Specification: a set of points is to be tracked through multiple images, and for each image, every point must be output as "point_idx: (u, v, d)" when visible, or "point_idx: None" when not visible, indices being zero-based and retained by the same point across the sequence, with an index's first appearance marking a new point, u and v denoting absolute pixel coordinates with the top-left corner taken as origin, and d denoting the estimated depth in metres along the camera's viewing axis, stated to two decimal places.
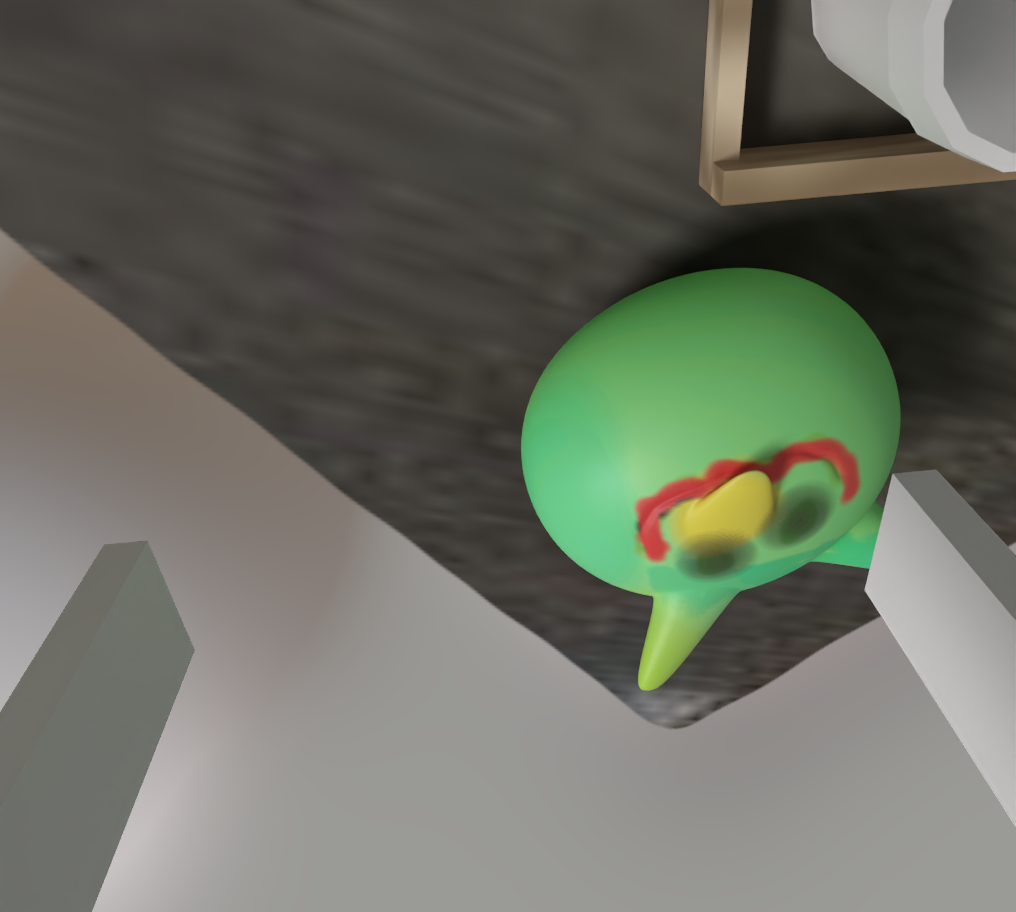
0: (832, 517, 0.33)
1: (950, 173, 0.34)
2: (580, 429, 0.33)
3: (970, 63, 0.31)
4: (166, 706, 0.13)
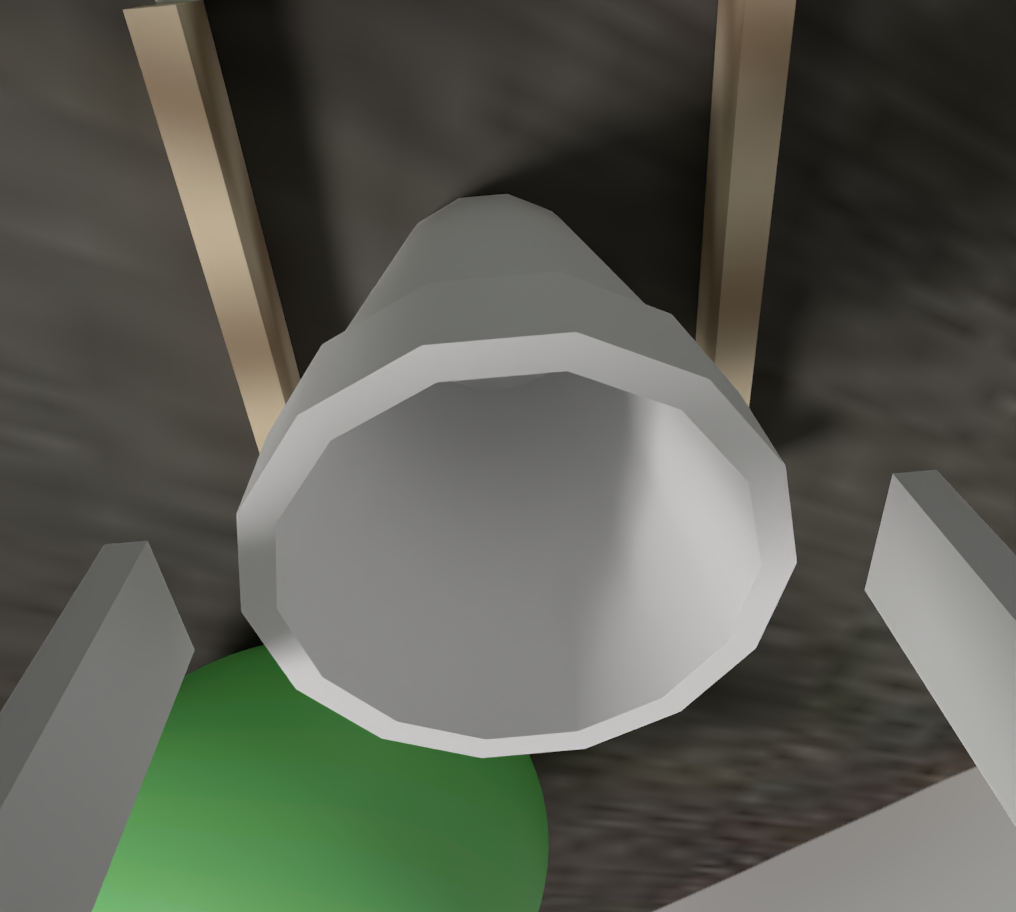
0: None
1: None
2: None
3: (580, 431, 0.22)
4: (166, 706, 0.13)
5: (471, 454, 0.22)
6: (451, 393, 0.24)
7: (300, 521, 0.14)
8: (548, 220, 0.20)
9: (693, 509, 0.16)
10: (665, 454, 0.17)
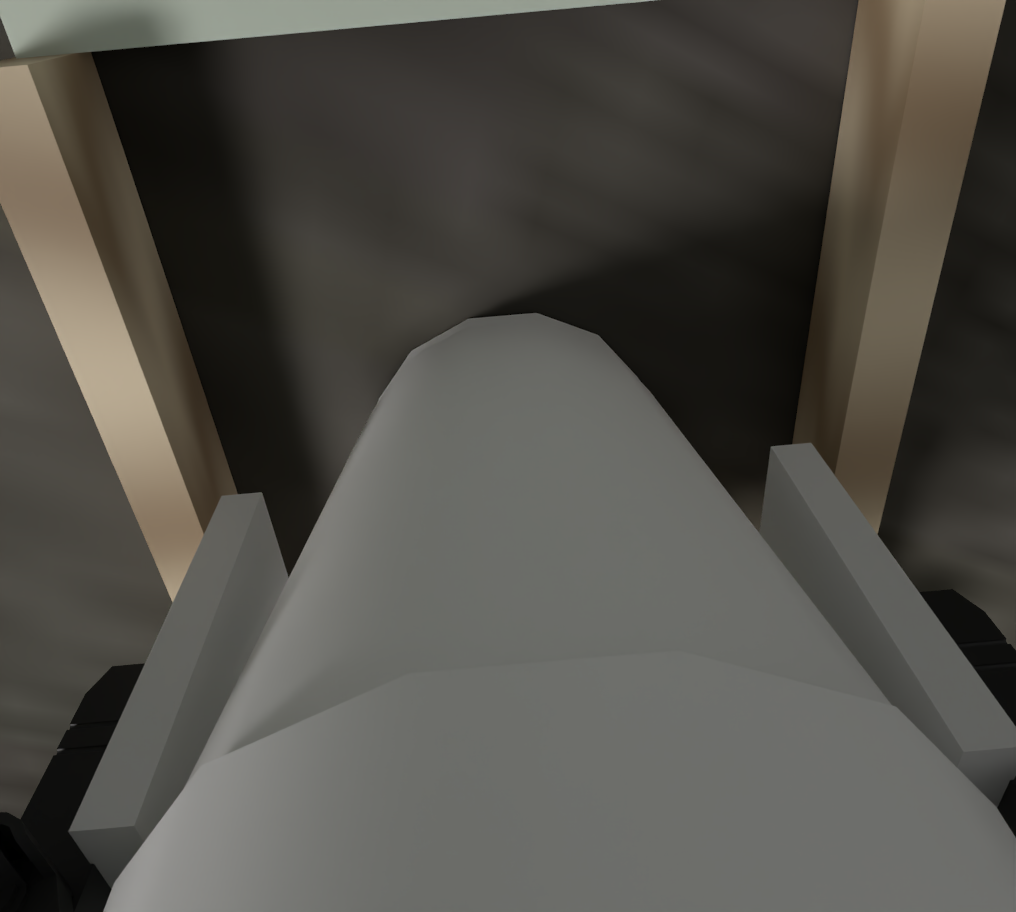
0: None
1: None
2: None
3: None
4: None
5: None
6: None
7: None
8: (600, 369, 0.14)
9: None
10: None
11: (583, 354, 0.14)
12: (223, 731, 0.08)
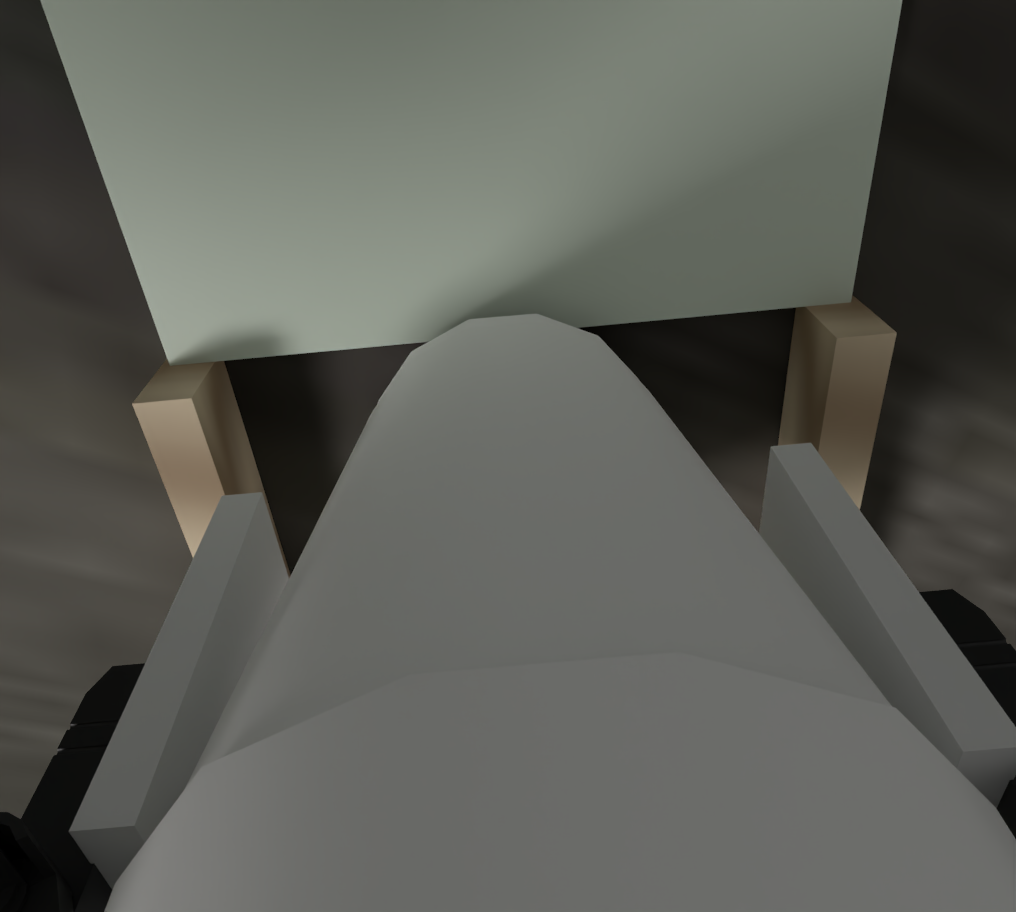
0: None
1: None
2: None
3: None
4: None
5: None
6: None
7: None
8: (600, 370, 0.14)
9: None
10: None
11: (583, 355, 0.14)
12: (223, 732, 0.08)
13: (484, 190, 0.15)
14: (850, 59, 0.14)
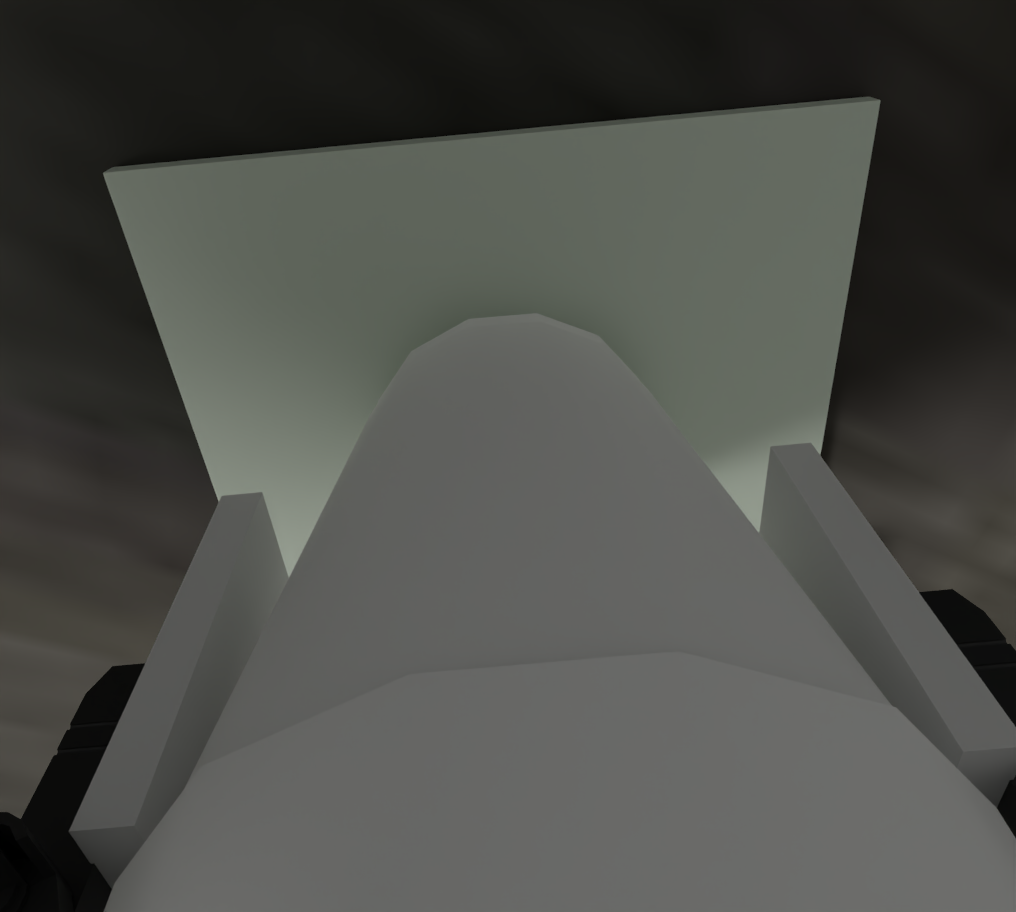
0: None
1: None
2: None
3: None
4: None
5: None
6: None
7: None
8: (600, 370, 0.14)
9: None
10: None
11: (583, 354, 0.14)
12: (223, 732, 0.08)
13: None
14: (793, 426, 0.19)
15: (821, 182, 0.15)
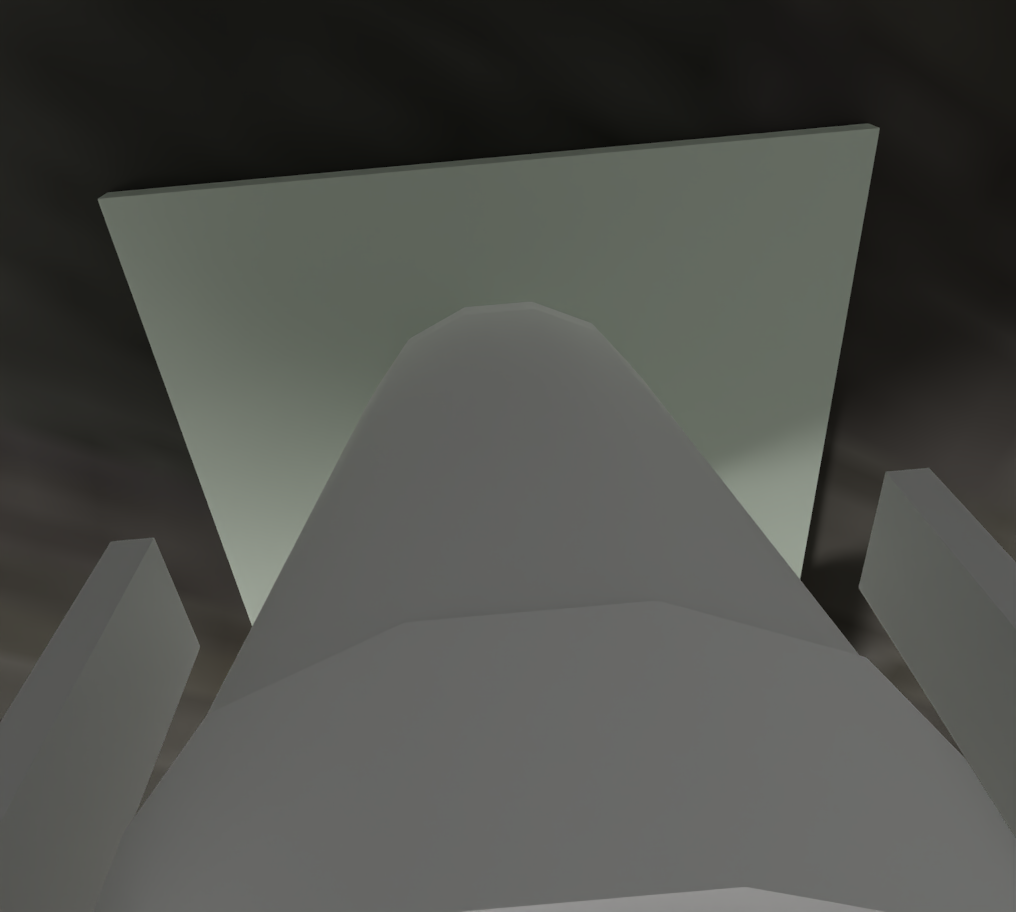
0: None
1: None
2: None
3: None
4: (172, 702, 0.13)
5: None
6: None
7: None
8: (592, 354, 0.14)
9: None
10: None
11: (576, 340, 0.14)
12: (227, 691, 0.08)
13: None
14: (791, 448, 0.18)
15: (820, 208, 0.15)
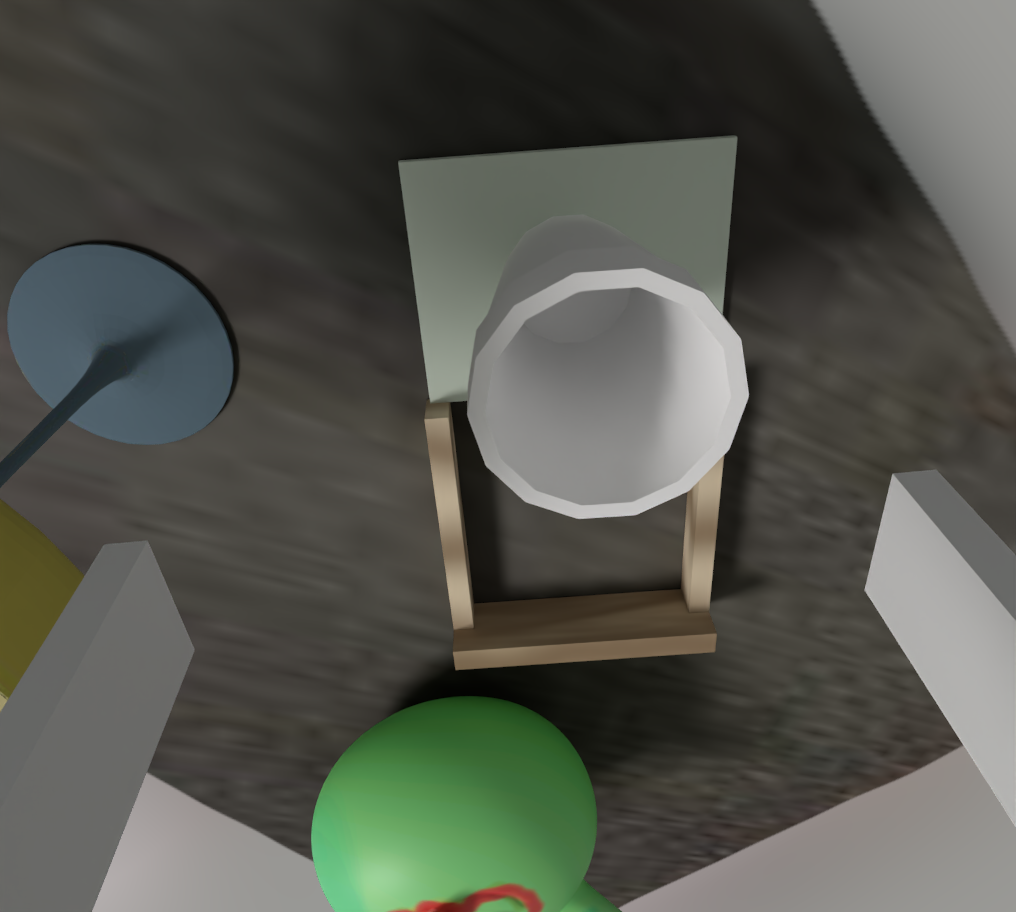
0: None
1: (627, 651, 0.45)
2: (335, 855, 0.43)
3: (627, 362, 0.34)
4: (166, 706, 0.13)
5: (557, 376, 0.35)
6: (541, 342, 0.37)
7: None
8: (611, 229, 0.33)
9: (697, 384, 0.28)
10: (682, 360, 0.30)
11: (604, 225, 0.33)
12: None
13: None
14: (708, 295, 0.37)
15: (713, 172, 0.34)
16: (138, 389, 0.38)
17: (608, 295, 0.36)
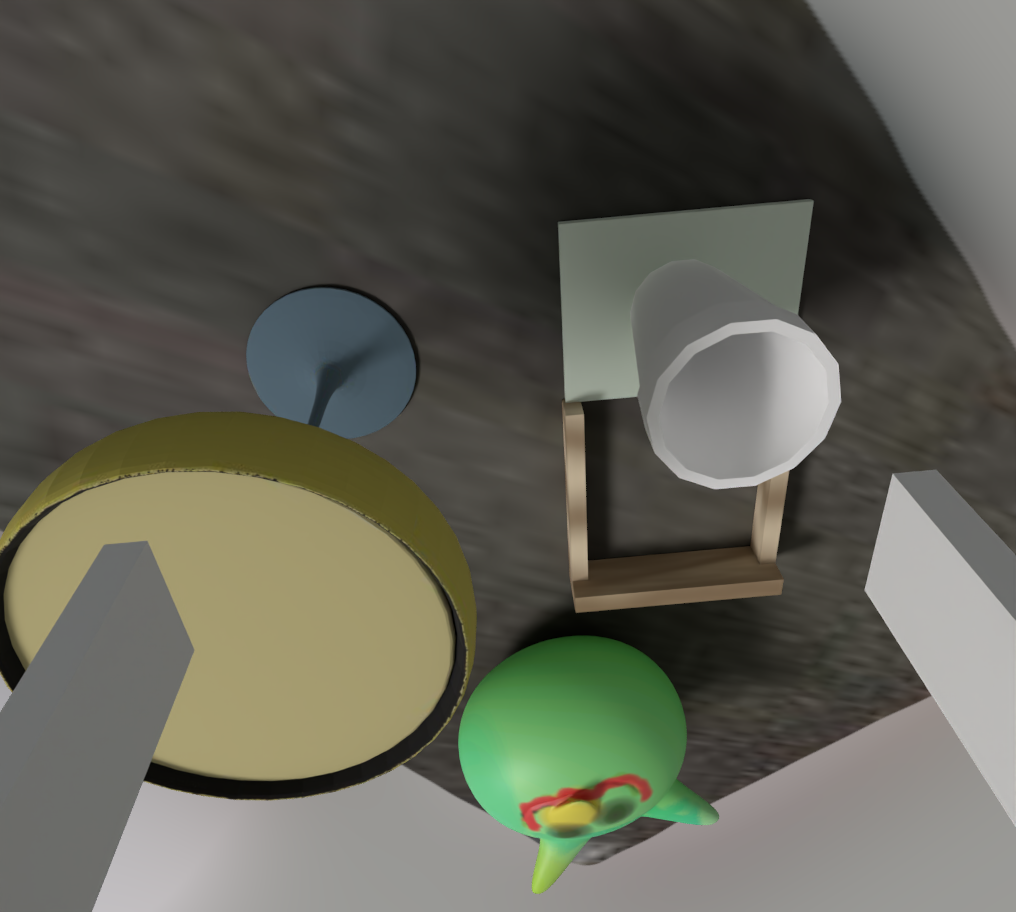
0: (637, 808, 0.56)
1: (712, 595, 0.57)
2: (488, 757, 0.55)
3: (730, 371, 0.46)
4: (166, 706, 0.13)
5: (677, 383, 0.46)
6: None
7: None
8: (722, 273, 0.44)
9: (797, 392, 0.40)
10: (782, 373, 0.41)
11: (715, 270, 0.45)
12: (660, 336, 0.39)
13: None
14: None
15: (794, 227, 0.46)
16: (345, 396, 0.49)
17: None
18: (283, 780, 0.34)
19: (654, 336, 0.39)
